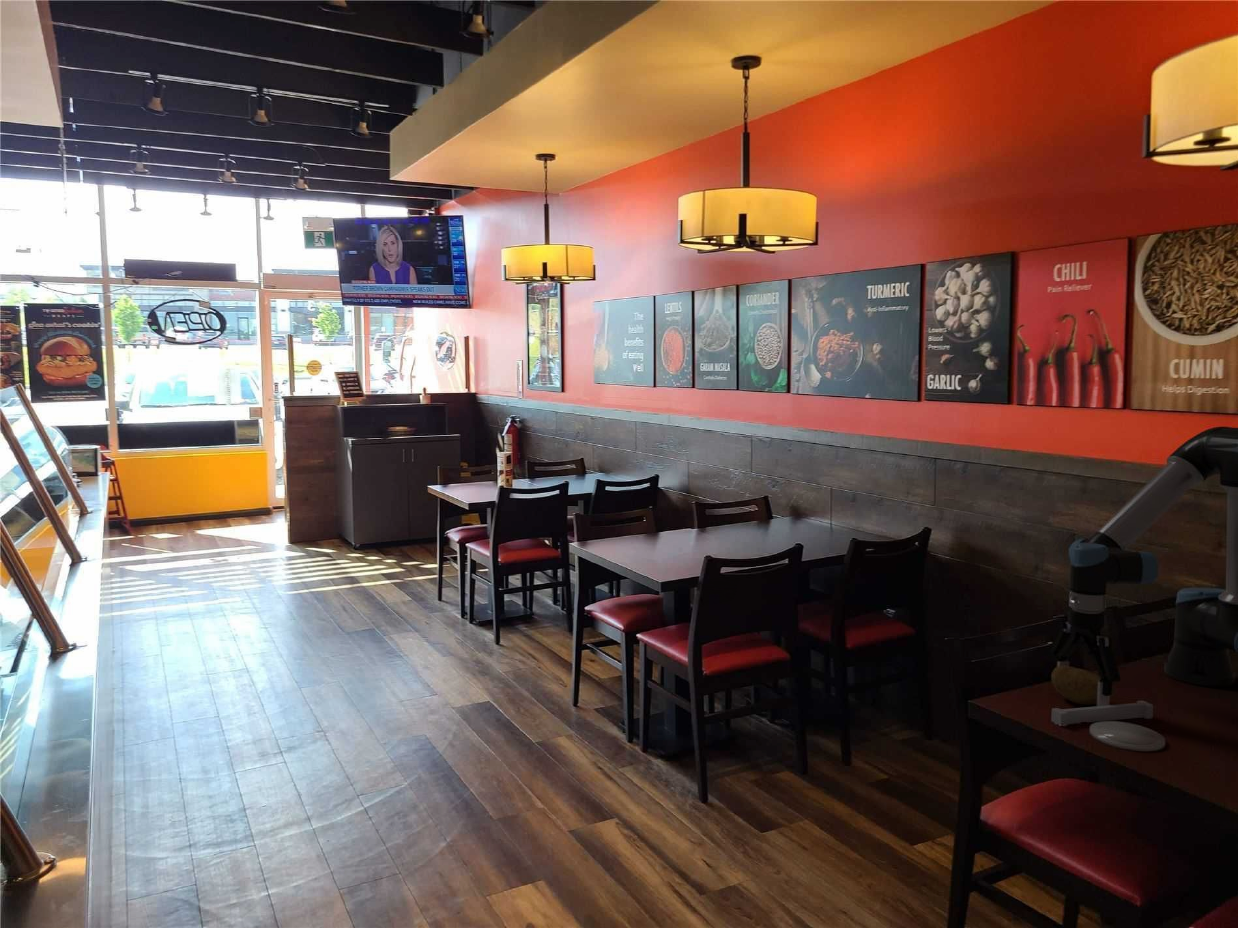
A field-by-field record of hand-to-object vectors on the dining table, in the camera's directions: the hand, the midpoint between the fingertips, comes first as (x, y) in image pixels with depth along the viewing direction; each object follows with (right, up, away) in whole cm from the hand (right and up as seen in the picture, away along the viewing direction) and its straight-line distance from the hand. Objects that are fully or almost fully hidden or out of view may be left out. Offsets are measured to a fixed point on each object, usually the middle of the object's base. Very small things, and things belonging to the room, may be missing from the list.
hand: (1081, 697), depth 207 cm
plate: (-1, -3, -20) cm, 20 cm away
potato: (0, -1, 0) cm, 1 cm away
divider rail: (-1, -2, -10) cm, 11 cm away
